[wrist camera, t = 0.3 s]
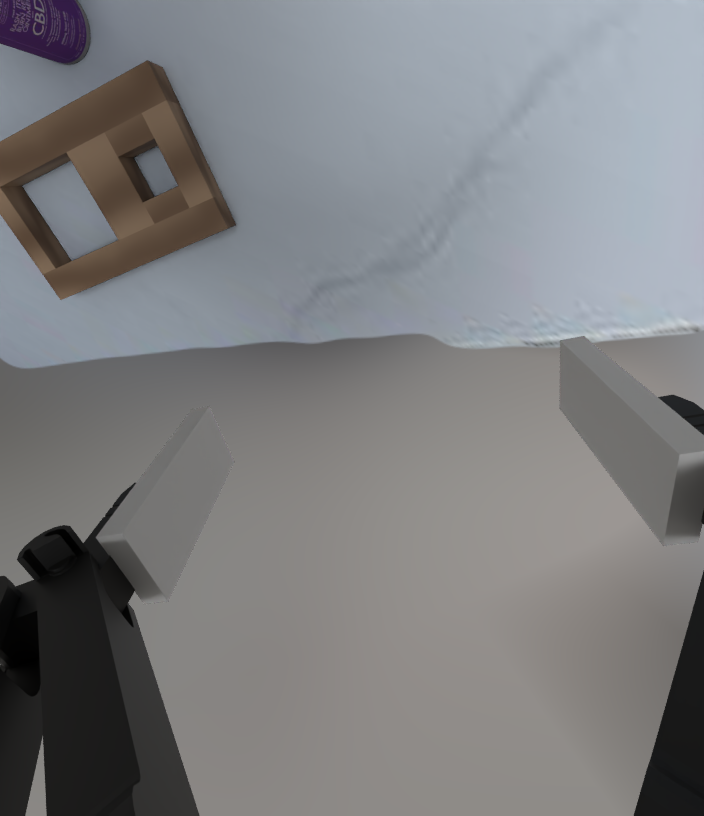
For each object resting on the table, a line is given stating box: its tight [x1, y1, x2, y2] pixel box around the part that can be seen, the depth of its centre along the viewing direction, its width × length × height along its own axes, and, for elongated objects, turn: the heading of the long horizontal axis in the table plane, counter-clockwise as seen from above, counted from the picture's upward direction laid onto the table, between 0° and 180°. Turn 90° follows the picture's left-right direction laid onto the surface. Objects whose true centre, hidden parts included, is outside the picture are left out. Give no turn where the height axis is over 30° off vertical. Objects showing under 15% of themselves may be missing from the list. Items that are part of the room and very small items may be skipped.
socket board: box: [0, 60, 236, 300], centre depth 36 cm, size 12×18×2 cm, turn 110°
